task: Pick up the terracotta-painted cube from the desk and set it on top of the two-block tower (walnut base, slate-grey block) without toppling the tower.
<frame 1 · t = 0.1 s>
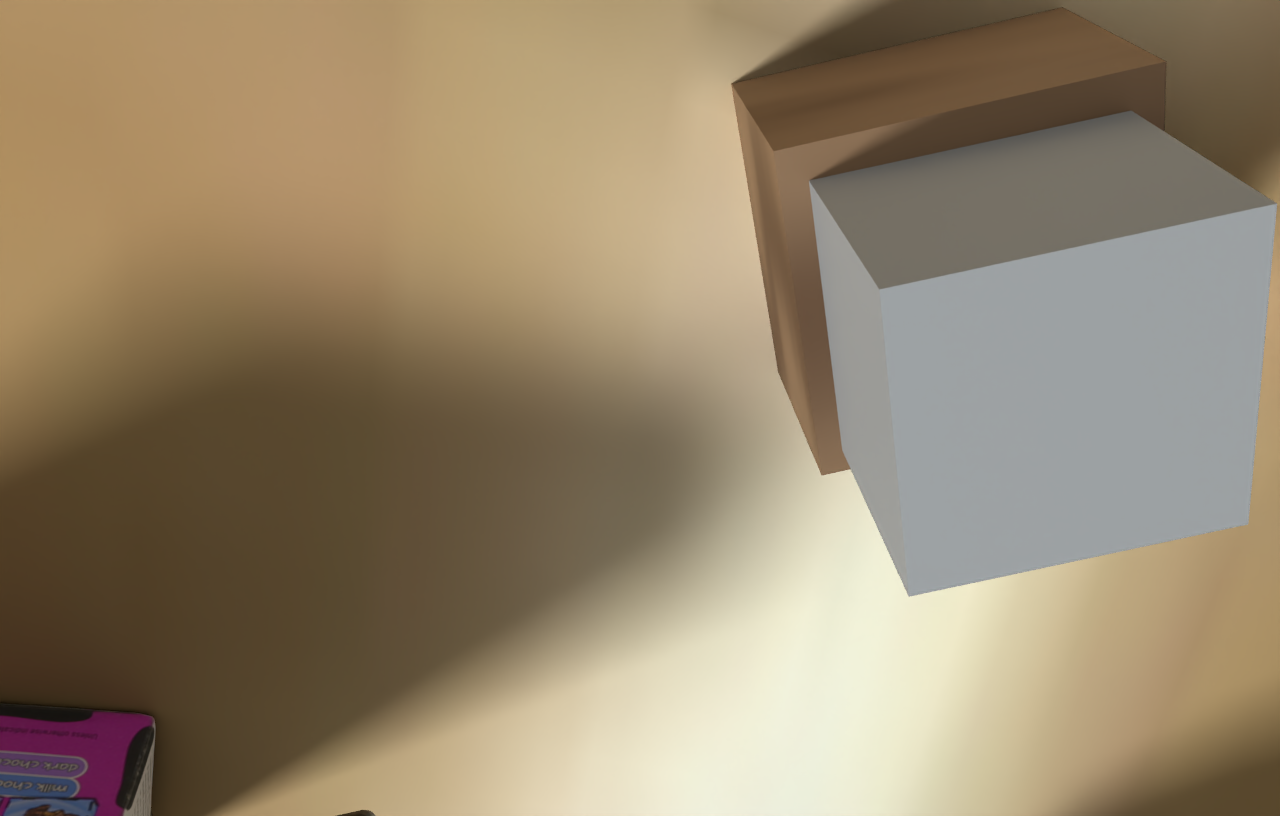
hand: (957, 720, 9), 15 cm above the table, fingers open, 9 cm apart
slate block: (977, 291, 20), point 4 cm above the table, touching walnut base block
walnut base block: (908, 199, 23), on the table, touching slate block
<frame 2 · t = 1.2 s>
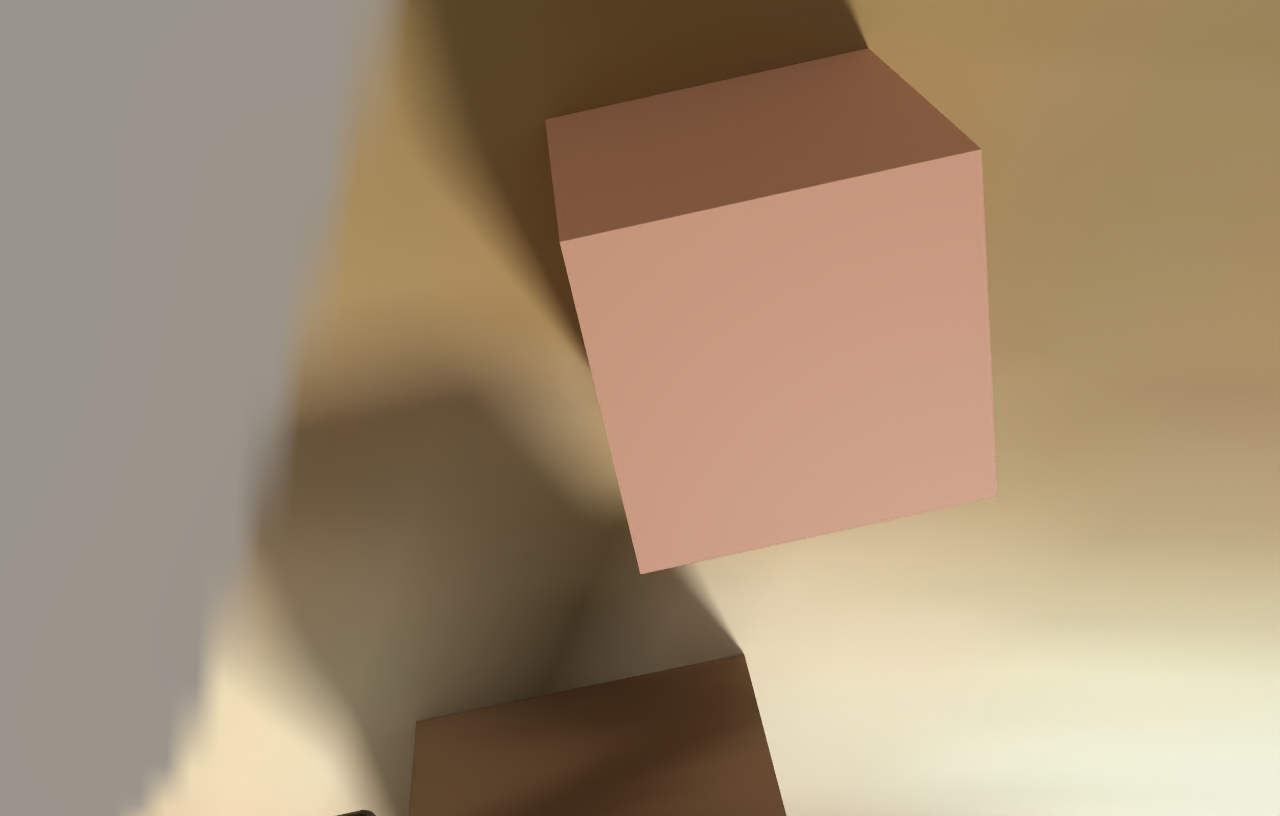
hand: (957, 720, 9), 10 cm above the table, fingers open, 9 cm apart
terracotta cube: (730, 233, 18), on the table
walnut base block: (610, 793, 23), on the table, touching slate block
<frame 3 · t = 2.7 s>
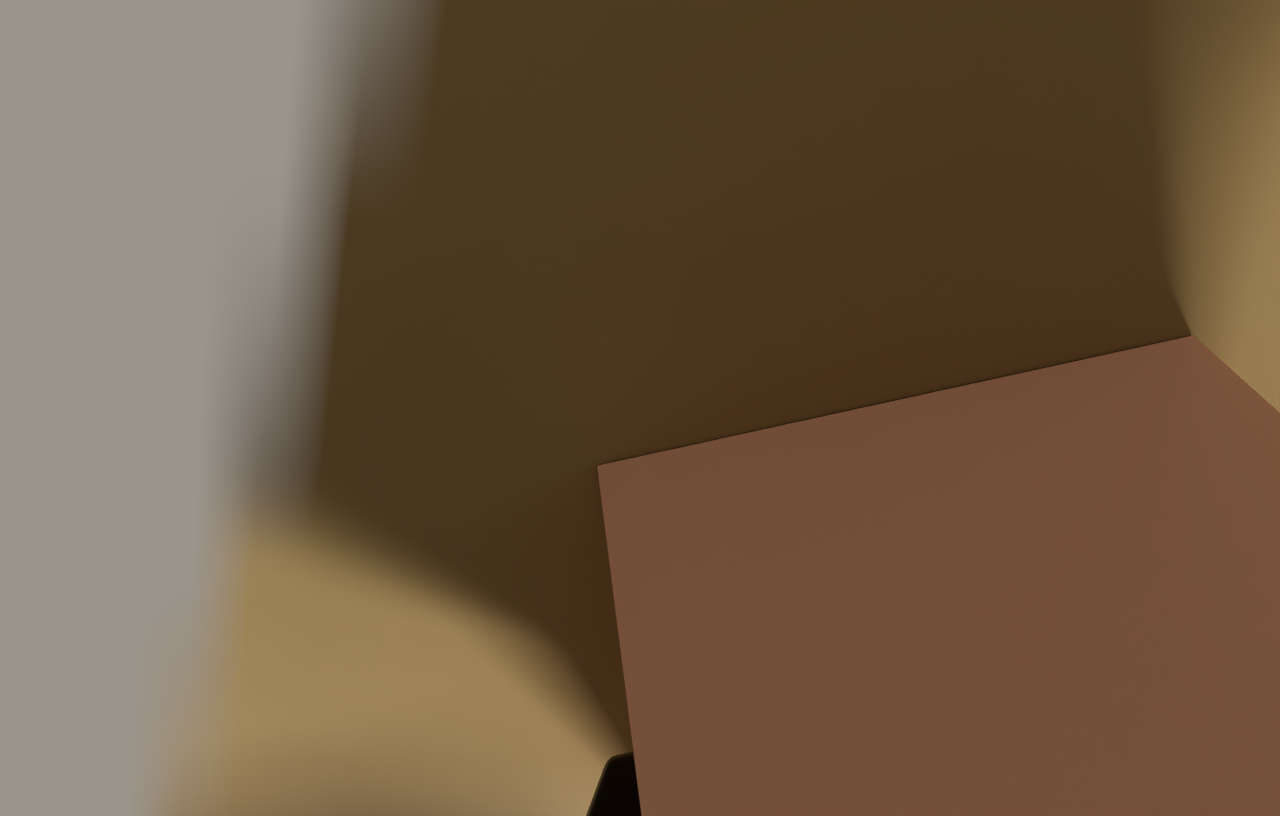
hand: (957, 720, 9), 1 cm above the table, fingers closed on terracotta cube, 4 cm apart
terracotta cube: (916, 628, 10), on the table, touching gripper
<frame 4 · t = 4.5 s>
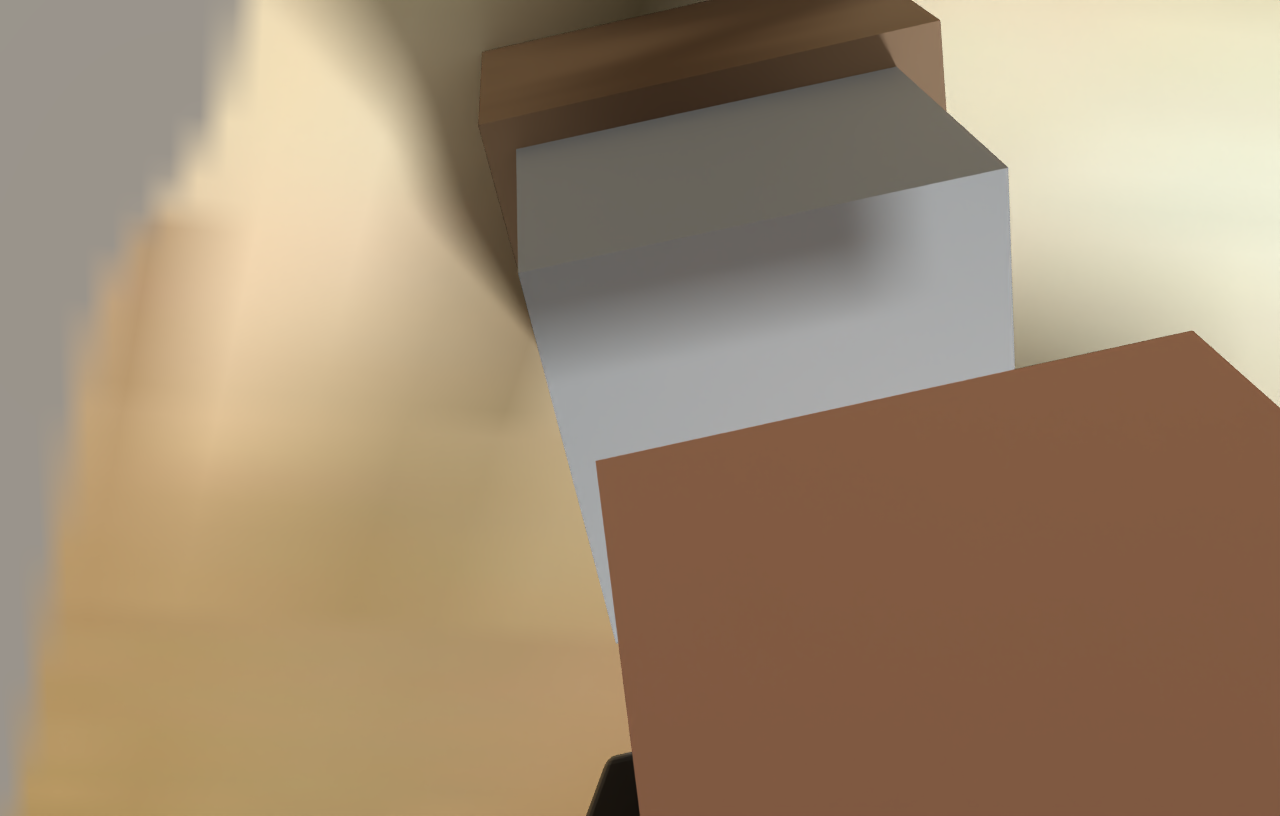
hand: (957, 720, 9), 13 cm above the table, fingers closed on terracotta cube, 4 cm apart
terracotta cube: (915, 624, 10), point 11 cm above the table, touching gripper
slate block: (734, 281, 17), point 4 cm above the table, touching walnut base block
walnut base block: (702, 186, 20), on the table, touching slate block
when the fingers open (10 cm above the table, at t = 5.4 s): terracotta cube drops 1 cm, resting on slate block.
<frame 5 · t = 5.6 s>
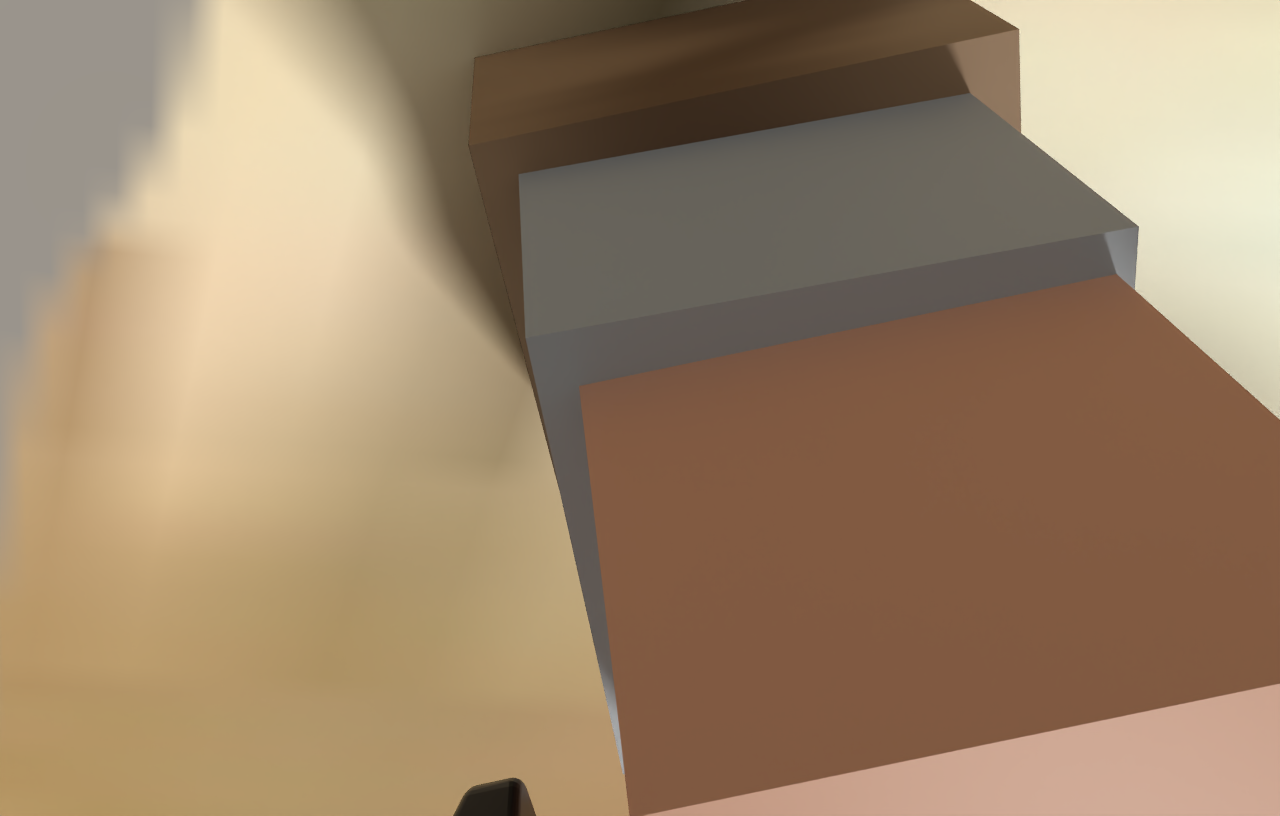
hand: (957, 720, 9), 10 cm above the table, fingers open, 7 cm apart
terracotta cube: (869, 545, 11), point 8 cm above the table, touching slate block
slate block: (766, 335, 14), point 4 cm above the table, touching terracotta cube, walnut base block
walnut base block: (723, 214, 18), on the table, touching slate block
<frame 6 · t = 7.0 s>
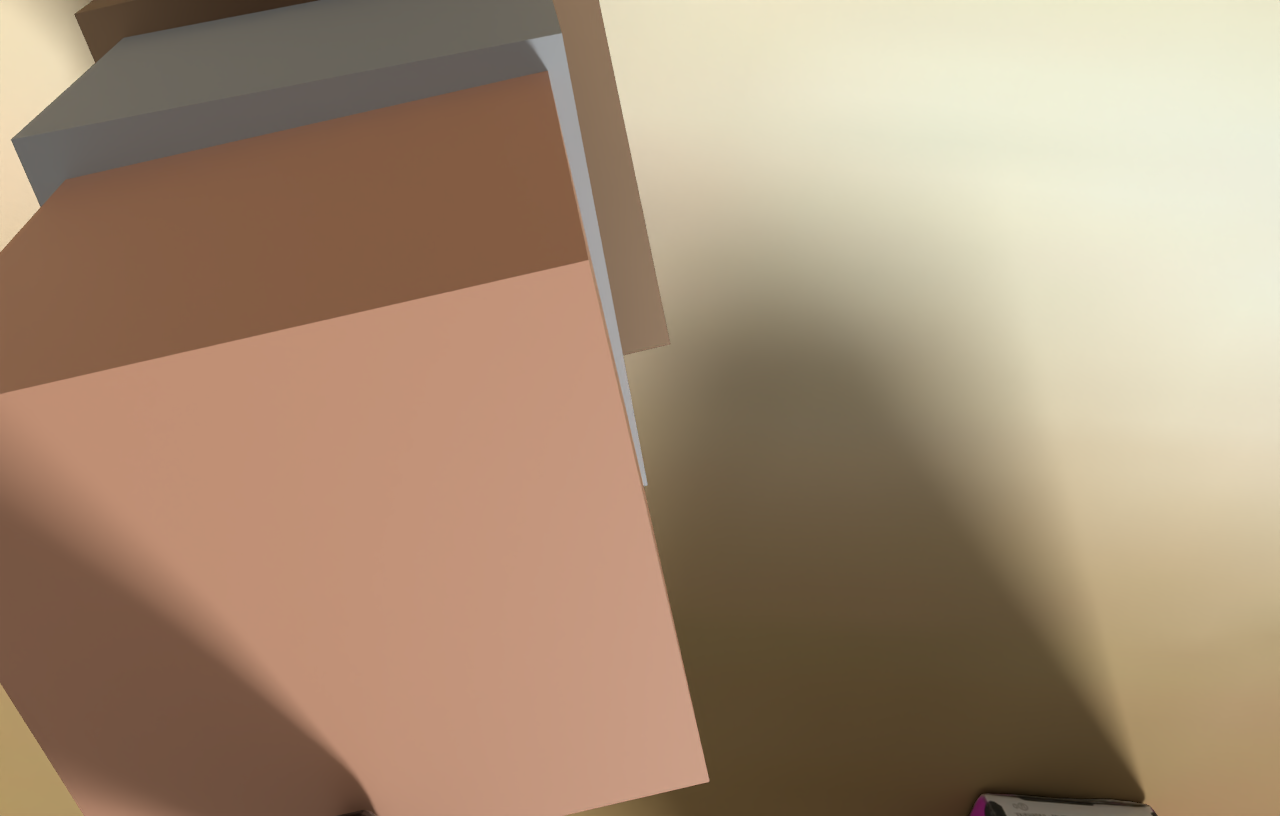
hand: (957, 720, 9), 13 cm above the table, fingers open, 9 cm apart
terracotta cube: (380, 339, 12), point 8 cm above the table, touching slate block
slate block: (388, 195, 15), point 4 cm above the table, touching terracotta cube, walnut base block
walnut base block: (414, 109, 19), on the table, touching slate block
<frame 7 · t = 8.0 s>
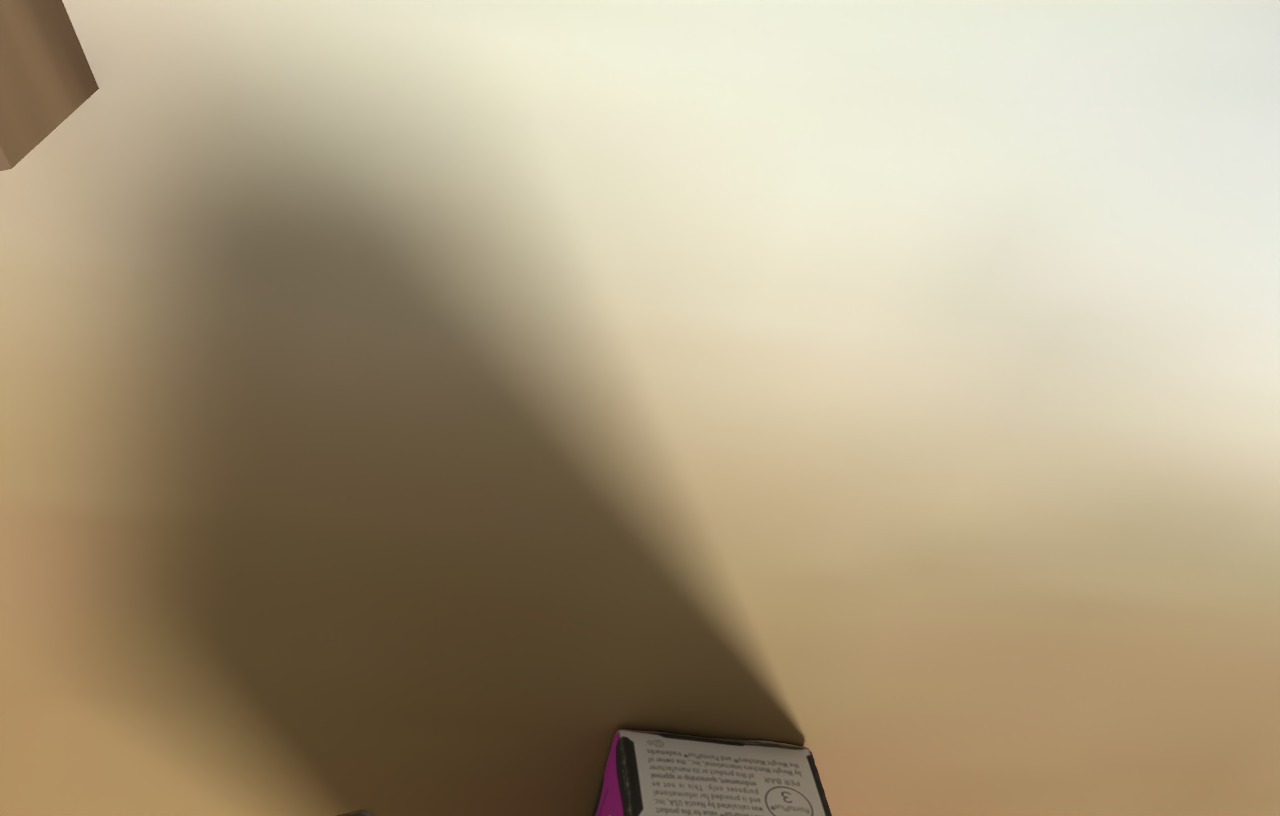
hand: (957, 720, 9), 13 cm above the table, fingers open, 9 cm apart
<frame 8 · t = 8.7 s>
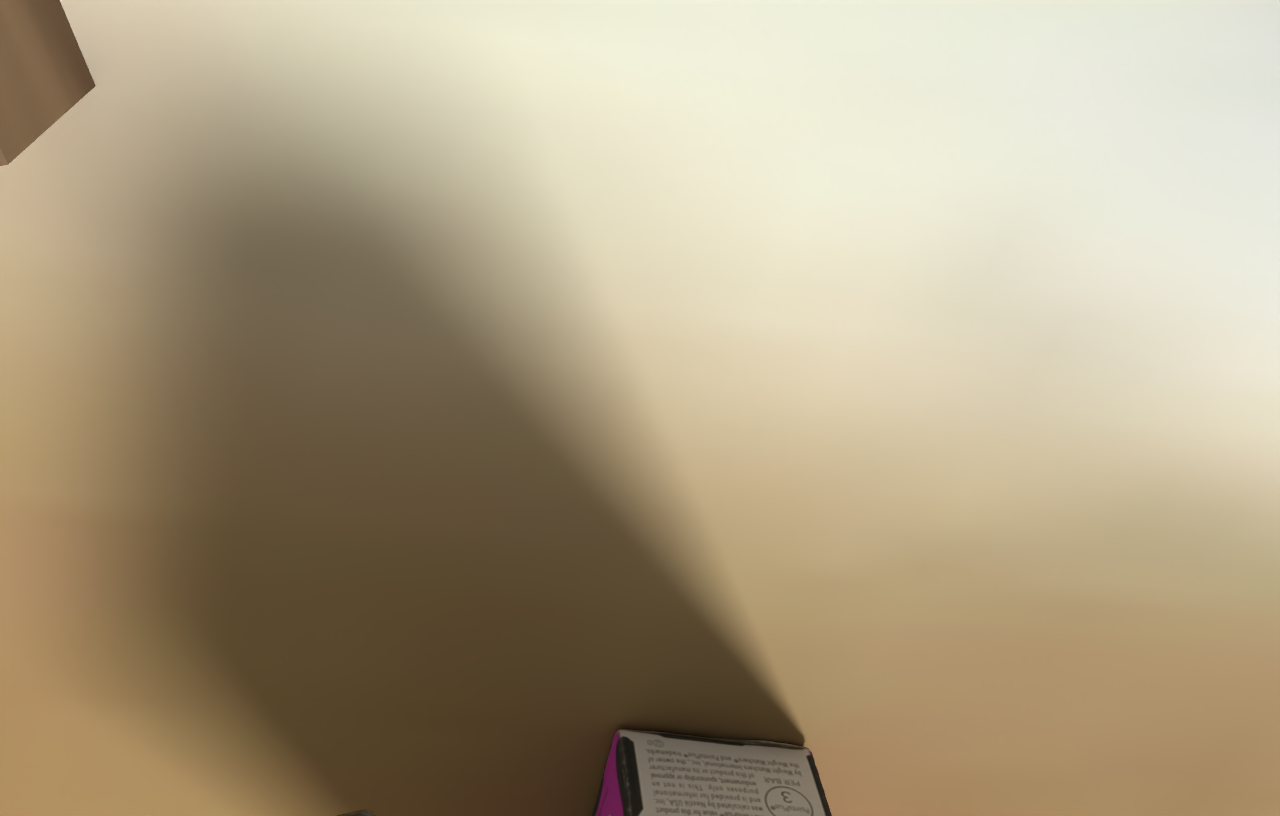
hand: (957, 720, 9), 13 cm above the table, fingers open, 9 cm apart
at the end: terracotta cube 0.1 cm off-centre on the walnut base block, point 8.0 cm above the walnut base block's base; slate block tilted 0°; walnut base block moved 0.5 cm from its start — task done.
